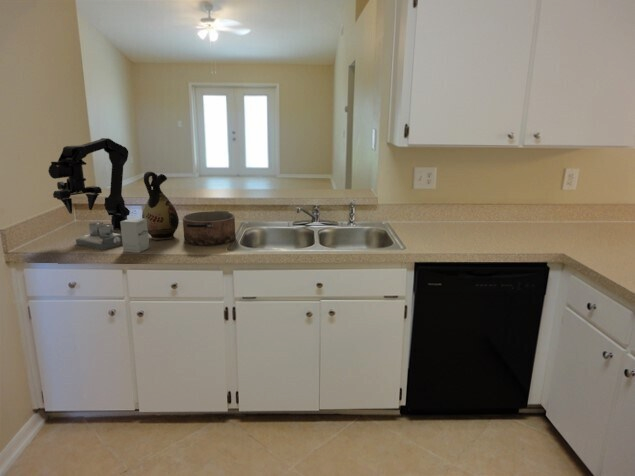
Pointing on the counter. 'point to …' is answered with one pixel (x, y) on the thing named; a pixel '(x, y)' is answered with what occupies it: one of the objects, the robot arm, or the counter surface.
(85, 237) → the kitchen scale
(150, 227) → the ceramic jug
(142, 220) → the supplement box
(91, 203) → the robot arm
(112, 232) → the steel spacer
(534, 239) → the counter surface
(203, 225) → the cooking pot
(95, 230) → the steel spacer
